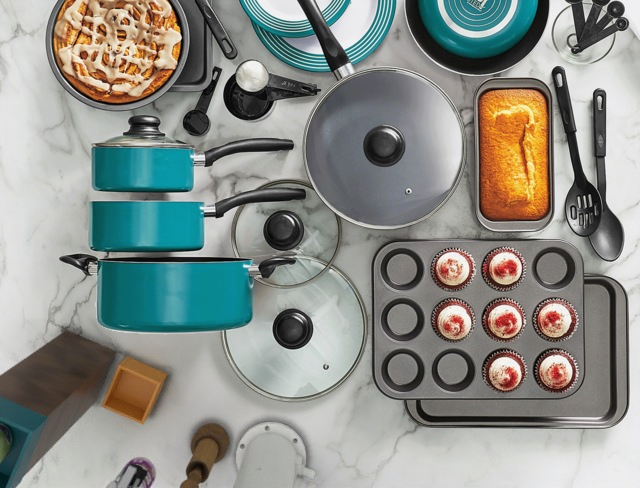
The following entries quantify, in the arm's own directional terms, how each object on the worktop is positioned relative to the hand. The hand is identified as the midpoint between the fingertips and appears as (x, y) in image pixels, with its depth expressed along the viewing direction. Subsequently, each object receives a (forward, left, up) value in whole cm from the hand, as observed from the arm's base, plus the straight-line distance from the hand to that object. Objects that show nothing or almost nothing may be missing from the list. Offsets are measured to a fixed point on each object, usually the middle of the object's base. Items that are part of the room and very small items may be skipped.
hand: (130, 486), depth 107 cm
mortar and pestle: (-9, -4, -16) cm, 19 cm away
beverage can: (+18, -7, +12) cm, 23 cm away
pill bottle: (0, 0, -5) cm, 5 cm away
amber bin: (+7, -8, -16) cm, 19 cm away
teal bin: (+18, -7, +12) cm, 23 cm away
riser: (+18, -7, -16) cm, 25 cm away
